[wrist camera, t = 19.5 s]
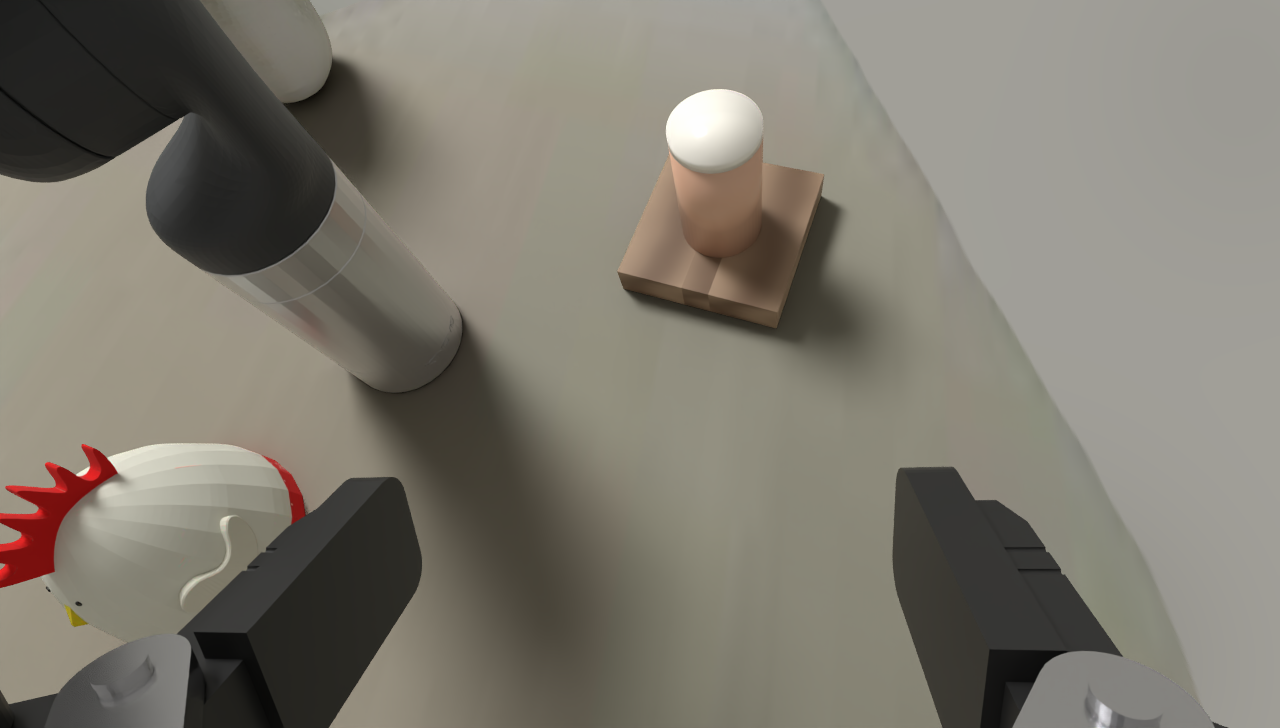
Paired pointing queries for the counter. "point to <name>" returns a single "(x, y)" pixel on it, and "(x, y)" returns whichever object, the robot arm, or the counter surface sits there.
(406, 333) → the robot arm
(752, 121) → the terracotta canister
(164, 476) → the kitchen timer
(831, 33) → the counter surface
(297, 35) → the glass bottle
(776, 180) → the walnut board
